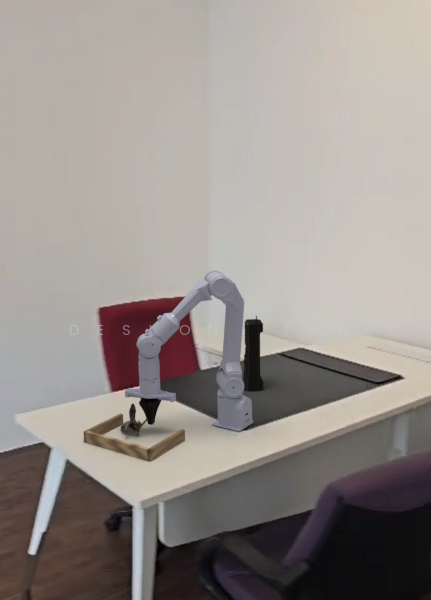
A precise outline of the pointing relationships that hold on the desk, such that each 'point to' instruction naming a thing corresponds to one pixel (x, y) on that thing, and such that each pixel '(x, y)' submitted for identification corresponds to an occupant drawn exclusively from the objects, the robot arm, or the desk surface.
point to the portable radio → (252, 355)
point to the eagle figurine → (133, 421)
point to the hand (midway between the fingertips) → (151, 423)
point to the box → (149, 454)
